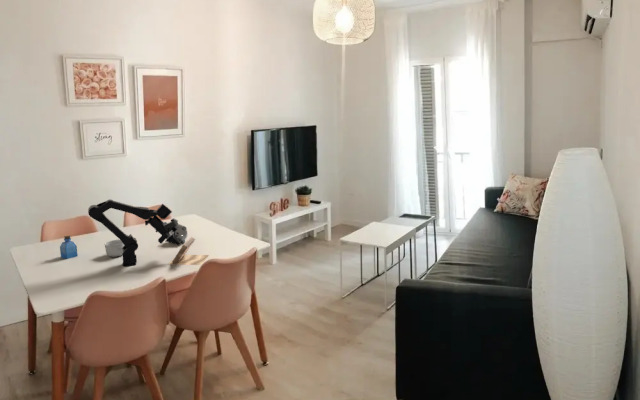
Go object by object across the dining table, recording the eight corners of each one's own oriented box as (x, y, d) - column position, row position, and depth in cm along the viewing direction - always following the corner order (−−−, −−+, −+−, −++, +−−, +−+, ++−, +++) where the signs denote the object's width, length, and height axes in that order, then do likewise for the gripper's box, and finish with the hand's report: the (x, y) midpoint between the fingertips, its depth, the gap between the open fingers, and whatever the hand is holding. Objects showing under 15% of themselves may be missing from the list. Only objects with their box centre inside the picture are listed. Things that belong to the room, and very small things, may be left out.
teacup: (121, 258, 274) (120, 244, 272) (102, 258, 274) (100, 244, 272) (131, 251, 287) (130, 237, 286) (112, 250, 287) (111, 237, 286)
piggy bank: (172, 247, 295) (171, 228, 293) (166, 241, 308) (165, 223, 306) (190, 244, 301) (190, 226, 298) (184, 238, 313) (183, 221, 311)
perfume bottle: (77, 256, 277) (75, 235, 275) (67, 259, 272) (64, 238, 270) (71, 254, 280) (69, 234, 278) (60, 257, 275) (58, 236, 273)
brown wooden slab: (171, 261, 262) (183, 244, 260) (180, 253, 277) (191, 236, 275) (175, 264, 262) (187, 247, 260) (184, 255, 277) (195, 239, 275)
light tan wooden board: (168, 265, 263) (167, 264, 263) (178, 255, 279) (178, 254, 279) (201, 265, 262) (200, 264, 262) (209, 255, 279) (209, 255, 279)
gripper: (162, 219, 256) (184, 239, 258) (173, 211, 274) (194, 230, 276) (148, 233, 258) (170, 253, 259) (161, 224, 276) (181, 243, 278)
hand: (180, 244), depth 268 cm, fingers closed
